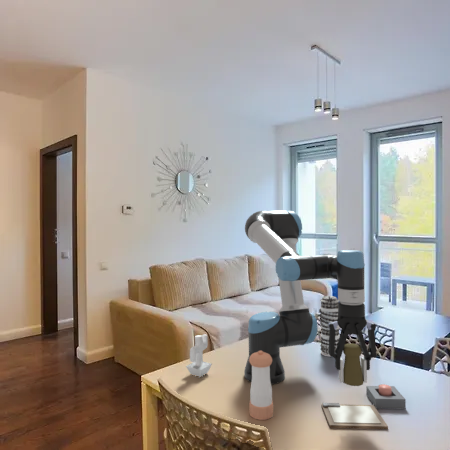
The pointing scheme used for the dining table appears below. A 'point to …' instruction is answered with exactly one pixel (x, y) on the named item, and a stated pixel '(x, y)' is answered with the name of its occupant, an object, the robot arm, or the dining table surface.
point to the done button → (385, 390)
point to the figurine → (198, 357)
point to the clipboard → (353, 416)
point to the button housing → (386, 398)
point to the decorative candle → (328, 315)
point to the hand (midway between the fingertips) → (352, 380)
